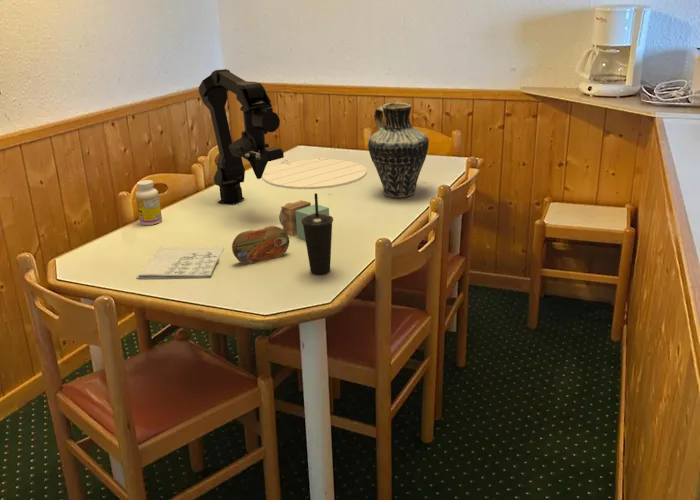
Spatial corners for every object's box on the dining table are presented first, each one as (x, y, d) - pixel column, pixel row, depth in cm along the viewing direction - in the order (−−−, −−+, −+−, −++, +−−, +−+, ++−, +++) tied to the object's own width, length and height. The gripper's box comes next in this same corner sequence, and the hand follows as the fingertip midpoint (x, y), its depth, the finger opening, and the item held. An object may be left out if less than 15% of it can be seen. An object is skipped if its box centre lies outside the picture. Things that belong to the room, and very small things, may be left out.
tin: (236, 267, 167) (232, 236, 164) (232, 263, 170) (228, 232, 167) (290, 255, 174) (288, 225, 170) (286, 251, 176) (284, 221, 173)
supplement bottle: (139, 220, 204) (132, 180, 199) (161, 217, 206) (155, 177, 201) (140, 227, 198) (134, 186, 193) (163, 224, 200) (157, 183, 195)
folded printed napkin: (135, 281, 163) (133, 273, 162) (160, 250, 181) (159, 243, 180) (211, 280, 161) (210, 272, 161) (229, 250, 180) (228, 242, 179)
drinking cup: (304, 266, 166) (299, 190, 159) (334, 264, 167) (331, 188, 159) (305, 278, 159) (299, 199, 152) (336, 276, 160) (333, 197, 152)
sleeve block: (283, 233, 189) (281, 206, 186) (303, 226, 194) (301, 200, 191) (292, 236, 187) (290, 209, 184) (312, 228, 192) (310, 202, 189)
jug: (440, 193, 219) (441, 102, 208) (401, 207, 207) (400, 111, 196) (393, 182, 233) (393, 96, 222) (355, 195, 221) (352, 105, 210)
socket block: (297, 237, 185) (295, 210, 182) (316, 230, 190) (315, 204, 187) (310, 242, 182) (308, 214, 179) (330, 234, 187) (328, 207, 184)
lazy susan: (240, 176, 250) (239, 167, 249) (319, 156, 274) (319, 148, 273) (306, 197, 222) (306, 187, 221) (388, 173, 246) (388, 164, 245)
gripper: (213, 128, 194) (219, 179, 200) (252, 136, 182) (257, 190, 188) (243, 122, 202) (248, 171, 208) (282, 129, 190) (286, 181, 195)
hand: (259, 178), depth 199 cm, fingers closed
